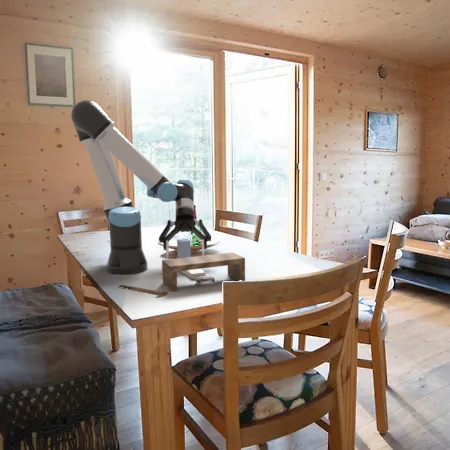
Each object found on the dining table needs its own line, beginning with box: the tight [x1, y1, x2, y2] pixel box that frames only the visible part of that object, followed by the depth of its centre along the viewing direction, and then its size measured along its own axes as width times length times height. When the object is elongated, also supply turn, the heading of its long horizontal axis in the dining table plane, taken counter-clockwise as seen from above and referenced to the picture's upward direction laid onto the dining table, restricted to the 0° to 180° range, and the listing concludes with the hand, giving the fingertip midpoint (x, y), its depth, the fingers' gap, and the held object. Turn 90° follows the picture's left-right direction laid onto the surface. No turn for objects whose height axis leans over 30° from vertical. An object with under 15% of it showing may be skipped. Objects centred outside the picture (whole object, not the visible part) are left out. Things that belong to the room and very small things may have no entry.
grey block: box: [176, 238, 207, 280], centre depth 154 cm, size 5×18×11 cm, turn 24°
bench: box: [161, 252, 246, 292], centre depth 142 cm, size 26×10×8 cm, turn 114°
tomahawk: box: [117, 284, 168, 299], centre depth 132 cm, size 20×7×1 cm, turn 58°
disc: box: [195, 275, 216, 287], centre depth 141 cm, size 6×6×2 cm
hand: (185, 256), depth 159 cm, fingers open, 13 cm apart
